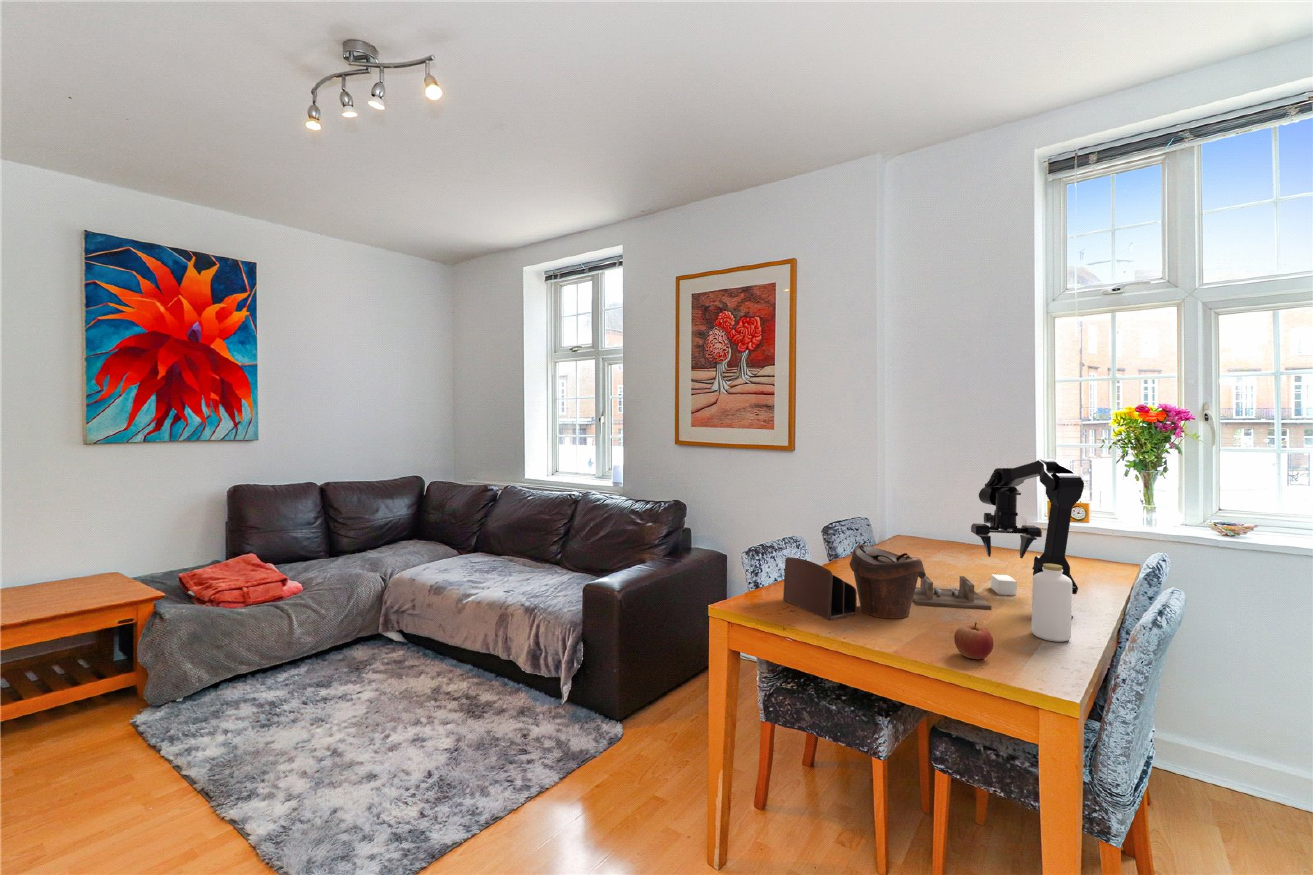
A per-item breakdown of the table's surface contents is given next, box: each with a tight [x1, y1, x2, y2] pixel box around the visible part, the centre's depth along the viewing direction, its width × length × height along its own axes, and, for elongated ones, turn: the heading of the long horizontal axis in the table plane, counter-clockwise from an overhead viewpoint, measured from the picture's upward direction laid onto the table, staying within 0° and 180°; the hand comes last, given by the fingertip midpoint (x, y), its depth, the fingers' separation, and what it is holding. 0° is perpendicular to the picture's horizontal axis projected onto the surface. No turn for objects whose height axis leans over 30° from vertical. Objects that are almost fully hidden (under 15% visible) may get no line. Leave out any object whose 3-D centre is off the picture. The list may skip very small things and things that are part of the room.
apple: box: [953, 622, 994, 660], centre depth 139 cm, size 8×8×8 cm
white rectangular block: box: [990, 574, 1018, 596], centre depth 193 cm, size 8×5×4 cm, turn 168°
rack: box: [912, 575, 992, 610], centre depth 184 cm, size 16×20×6 cm
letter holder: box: [782, 556, 858, 621], centre depth 174 cm, size 10×20×14 cm, turn 26°
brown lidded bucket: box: [849, 543, 927, 620], centre depth 171 cm, size 18×20×18 cm
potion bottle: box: [1031, 564, 1073, 643], centre depth 152 cm, size 8×8×18 cm
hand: (1005, 557), depth 192 cm, fingers open, 9 cm apart
